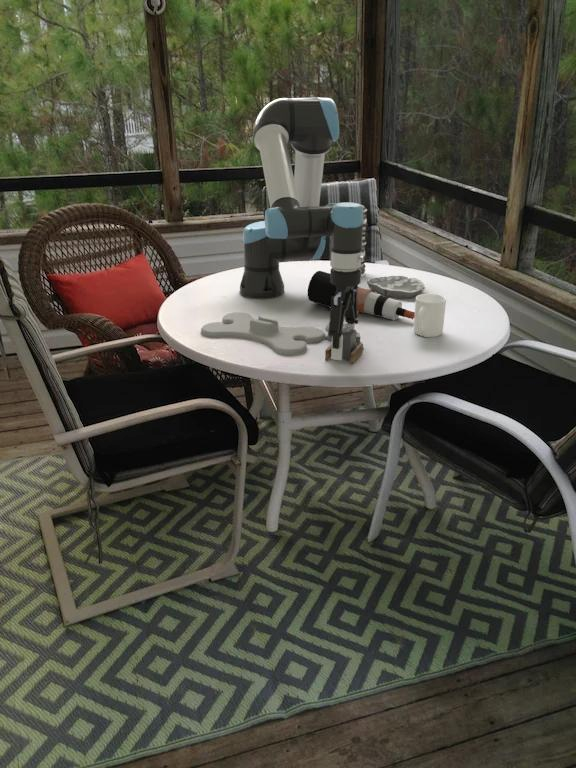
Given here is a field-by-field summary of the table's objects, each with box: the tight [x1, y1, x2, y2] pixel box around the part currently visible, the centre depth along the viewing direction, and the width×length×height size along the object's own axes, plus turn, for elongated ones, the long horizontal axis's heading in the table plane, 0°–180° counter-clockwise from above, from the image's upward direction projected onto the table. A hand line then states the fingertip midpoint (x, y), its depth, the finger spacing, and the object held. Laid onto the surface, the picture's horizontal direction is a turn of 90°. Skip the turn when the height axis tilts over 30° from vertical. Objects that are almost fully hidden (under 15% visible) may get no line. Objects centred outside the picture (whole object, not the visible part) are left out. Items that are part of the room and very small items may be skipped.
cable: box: [307, 270, 415, 321], centre depth 202 cm, size 10×34×10 cm, turn 57°
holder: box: [200, 312, 326, 356], centre depth 187 cm, size 19×34×5 cm, turn 58°
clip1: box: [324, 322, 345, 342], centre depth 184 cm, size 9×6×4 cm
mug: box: [413, 293, 447, 338], centre depth 185 cm, size 12×8×10 cm
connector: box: [341, 326, 357, 362], centre depth 171 cm, size 4×4×8 cm
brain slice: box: [366, 275, 426, 300], centre depth 224 cm, size 20×17×3 cm
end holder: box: [324, 342, 364, 365], centre depth 172 cm, size 8×8×3 cm
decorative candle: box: [359, 204, 369, 278], centre depth 237 cm, size 9×9×25 cm
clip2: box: [356, 331, 364, 351], centre depth 178 cm, size 5×6×4 cm
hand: (342, 352), depth 172 cm, fingers open, 9 cm apart
